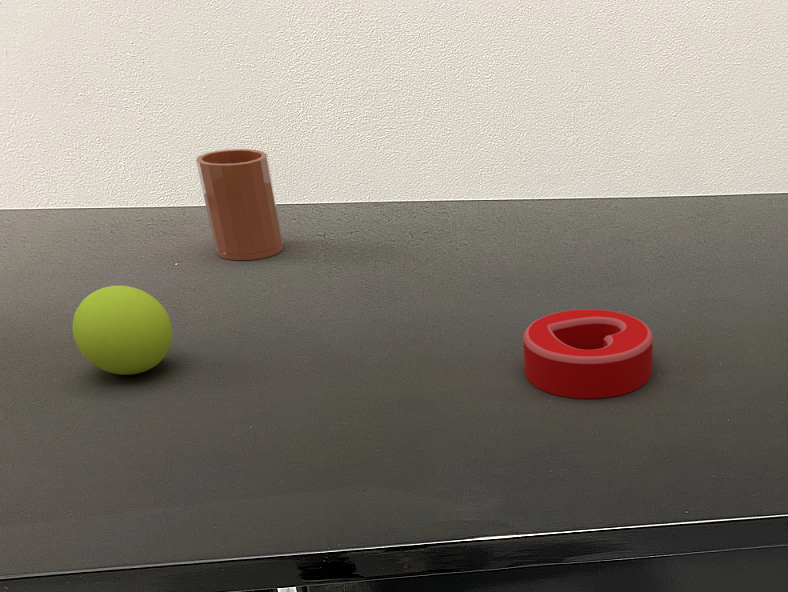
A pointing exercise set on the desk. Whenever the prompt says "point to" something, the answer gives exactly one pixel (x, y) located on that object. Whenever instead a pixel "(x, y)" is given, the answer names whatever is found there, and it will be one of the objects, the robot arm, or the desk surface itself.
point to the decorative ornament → (588, 353)
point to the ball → (122, 330)
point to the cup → (240, 203)
